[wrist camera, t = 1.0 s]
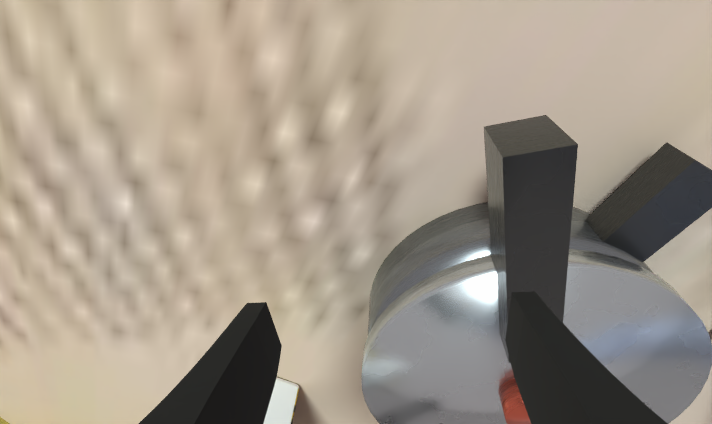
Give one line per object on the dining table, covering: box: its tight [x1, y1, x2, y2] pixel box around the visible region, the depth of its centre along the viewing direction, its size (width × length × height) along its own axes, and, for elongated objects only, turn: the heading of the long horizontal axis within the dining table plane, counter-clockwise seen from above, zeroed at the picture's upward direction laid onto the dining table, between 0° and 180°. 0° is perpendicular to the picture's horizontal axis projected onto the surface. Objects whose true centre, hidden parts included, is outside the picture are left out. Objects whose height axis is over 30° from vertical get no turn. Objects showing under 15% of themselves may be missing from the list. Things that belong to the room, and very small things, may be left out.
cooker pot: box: [368, 143, 712, 335], centre depth 21 cm, size 20×16×4 cm
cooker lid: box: [362, 115, 712, 424], centre depth 17 cm, size 22×16×3 cm
